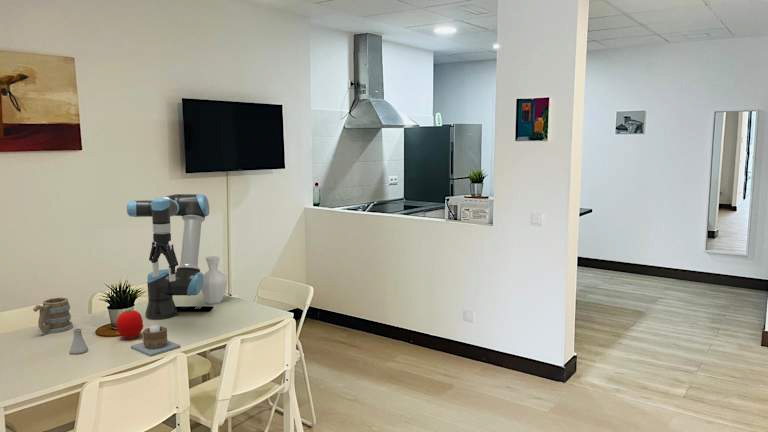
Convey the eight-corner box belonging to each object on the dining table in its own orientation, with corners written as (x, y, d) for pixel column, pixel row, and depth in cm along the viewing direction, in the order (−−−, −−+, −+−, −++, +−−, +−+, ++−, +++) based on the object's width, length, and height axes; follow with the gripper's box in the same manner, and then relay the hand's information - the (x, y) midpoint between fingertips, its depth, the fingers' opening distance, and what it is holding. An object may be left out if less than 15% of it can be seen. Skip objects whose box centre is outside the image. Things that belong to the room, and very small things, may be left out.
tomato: (140, 341, 261) (138, 313, 259) (114, 342, 259) (112, 314, 258) (146, 332, 272) (144, 306, 270) (121, 334, 270) (120, 307, 269)
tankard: (56, 323, 285) (53, 294, 283) (78, 325, 282) (76, 295, 280) (23, 337, 265) (20, 305, 263) (47, 339, 263) (44, 307, 261)
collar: (140, 343, 252) (139, 330, 251) (159, 338, 259) (158, 325, 258) (151, 348, 246) (150, 334, 246) (170, 342, 253) (170, 329, 252)
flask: (75, 348, 252) (73, 326, 250) (91, 348, 251) (90, 326, 250) (65, 354, 244) (64, 331, 243) (82, 355, 244) (81, 332, 243)
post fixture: (130, 348, 252) (129, 326, 251) (160, 339, 263) (159, 319, 262) (150, 356, 242) (149, 334, 241) (180, 347, 253) (179, 326, 252)
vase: (212, 306, 314) (211, 261, 311) (195, 302, 322) (193, 258, 318) (233, 300, 326) (231, 256, 323) (215, 296, 334) (214, 254, 330)
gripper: (139, 230, 267) (142, 276, 270) (169, 236, 252) (171, 284, 255) (154, 228, 273) (157, 273, 276) (185, 234, 258) (187, 281, 260)
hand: (164, 278), depth 265 cm, fingers open, 13 cm apart
